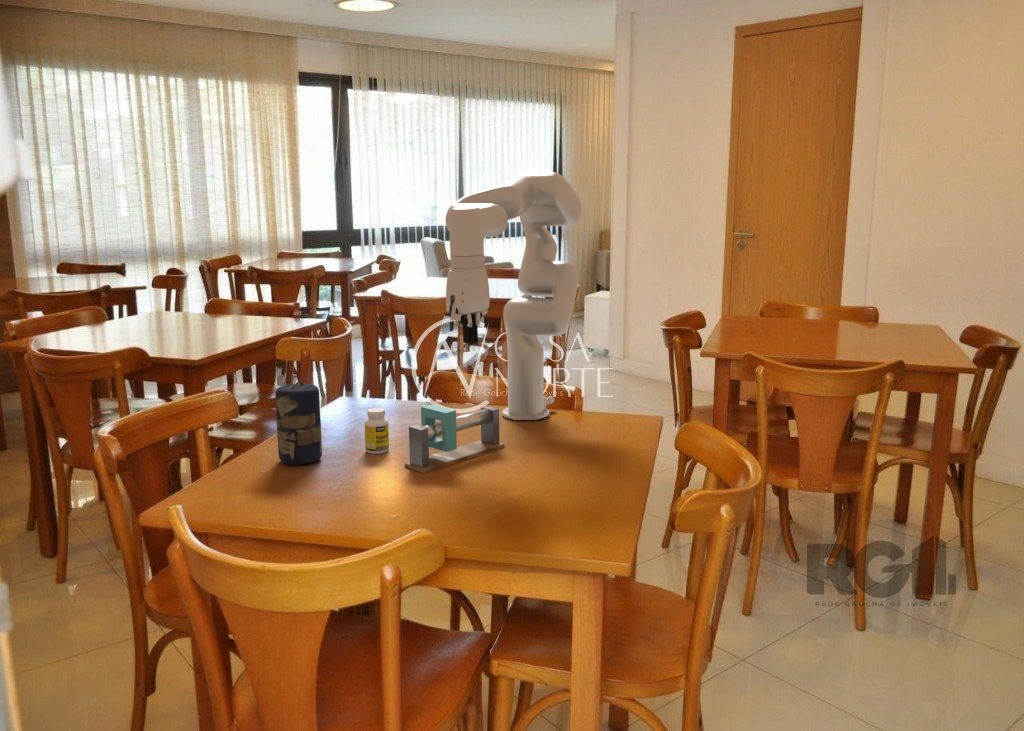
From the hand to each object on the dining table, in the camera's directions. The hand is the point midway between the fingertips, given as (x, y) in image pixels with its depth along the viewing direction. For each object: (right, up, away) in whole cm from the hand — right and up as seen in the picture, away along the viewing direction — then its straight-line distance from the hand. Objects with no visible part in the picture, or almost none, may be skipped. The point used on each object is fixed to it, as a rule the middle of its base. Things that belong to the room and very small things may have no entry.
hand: (470, 342), depth 194 cm
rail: (-3, -26, -3) cm, 26 cm away
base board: (-3, -26, -3) cm, 26 cm away
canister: (-38, -27, -5) cm, 46 cm away
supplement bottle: (-22, -25, +2) cm, 33 cm away
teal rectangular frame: (-7, -23, -7) cm, 25 cm away
